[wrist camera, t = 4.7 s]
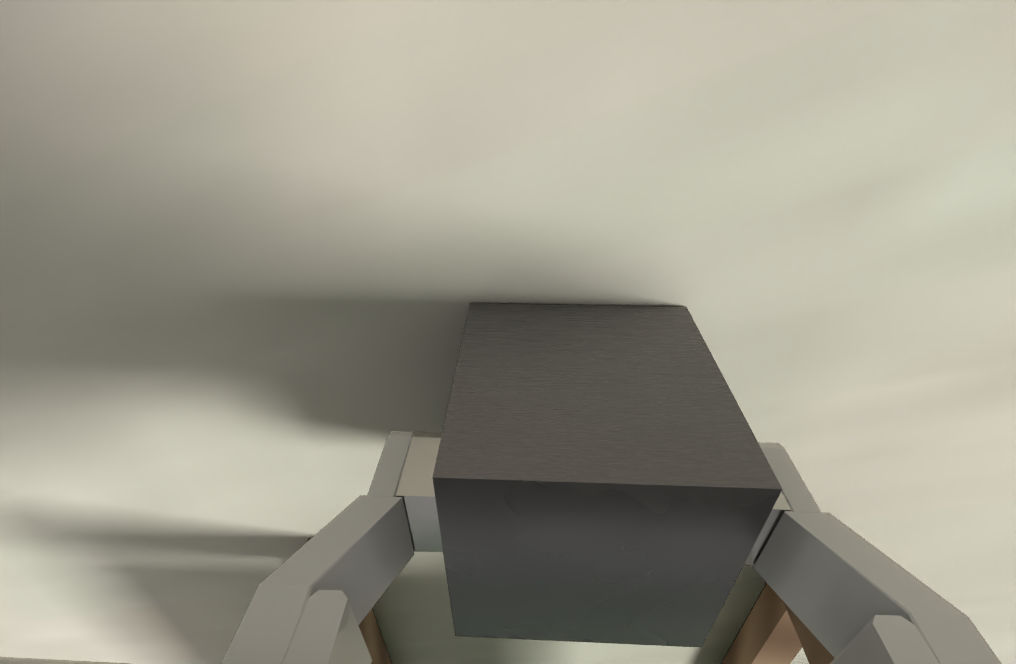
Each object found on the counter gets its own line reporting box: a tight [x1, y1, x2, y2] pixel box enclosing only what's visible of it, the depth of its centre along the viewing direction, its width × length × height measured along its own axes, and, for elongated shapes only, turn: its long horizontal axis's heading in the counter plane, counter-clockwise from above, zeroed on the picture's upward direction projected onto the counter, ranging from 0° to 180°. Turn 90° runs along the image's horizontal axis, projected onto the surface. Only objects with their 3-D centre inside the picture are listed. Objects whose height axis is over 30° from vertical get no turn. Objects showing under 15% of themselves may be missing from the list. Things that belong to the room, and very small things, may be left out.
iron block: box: [432, 303, 782, 647], centre depth 10 cm, size 5×5×5 cm
